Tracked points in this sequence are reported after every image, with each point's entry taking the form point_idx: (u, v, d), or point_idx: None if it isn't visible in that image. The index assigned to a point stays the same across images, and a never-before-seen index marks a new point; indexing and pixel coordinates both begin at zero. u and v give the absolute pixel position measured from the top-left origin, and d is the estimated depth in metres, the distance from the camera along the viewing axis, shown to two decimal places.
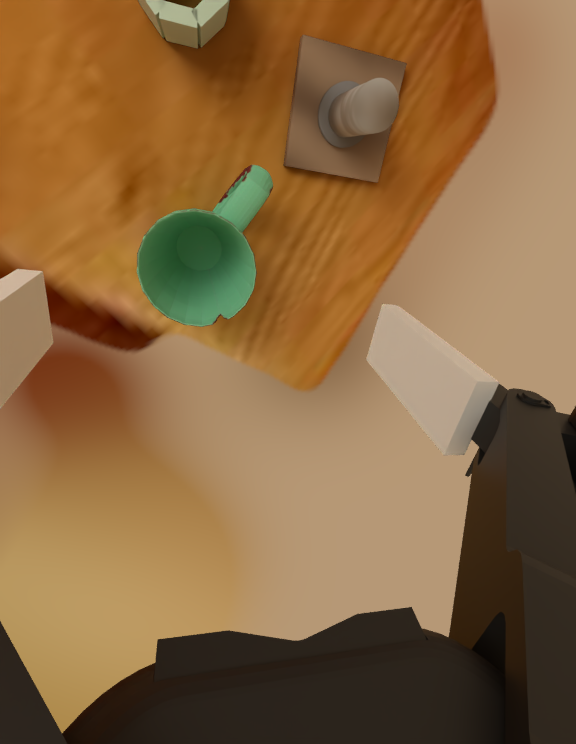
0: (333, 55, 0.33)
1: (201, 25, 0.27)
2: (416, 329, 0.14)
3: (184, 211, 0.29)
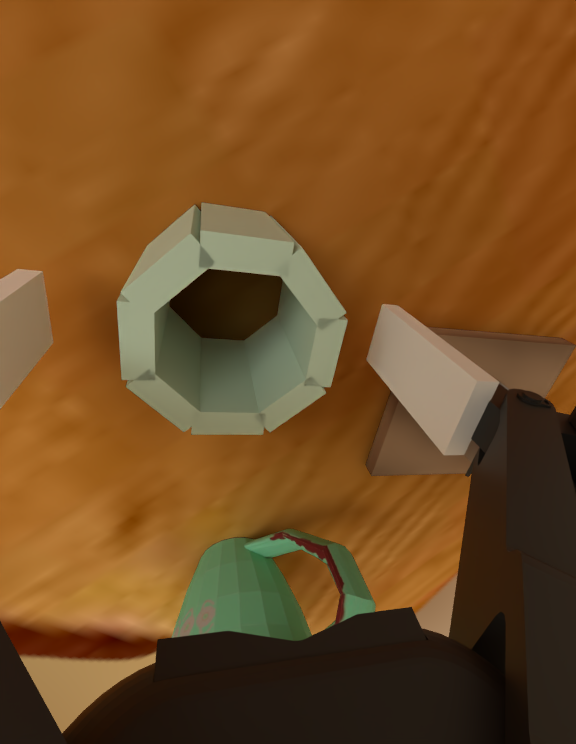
0: (466, 351, 0.20)
1: (271, 430, 0.14)
2: (416, 329, 0.14)
3: None
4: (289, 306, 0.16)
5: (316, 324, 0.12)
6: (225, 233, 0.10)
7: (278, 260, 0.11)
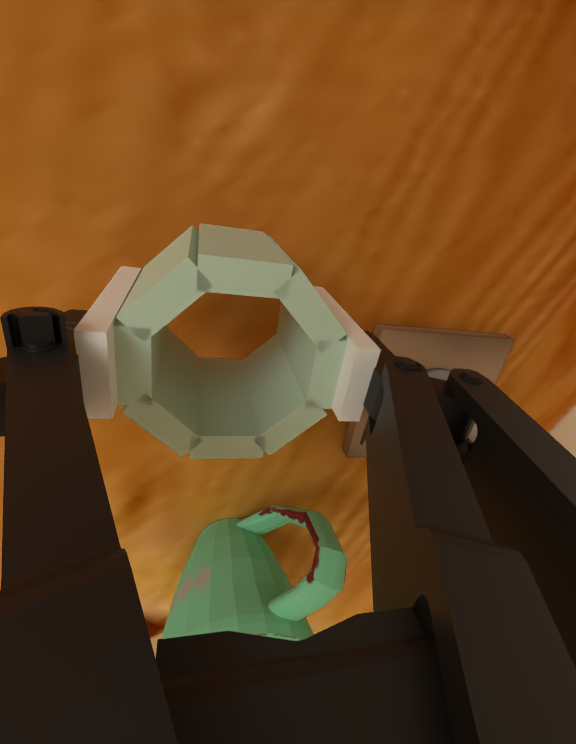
0: (420, 344, 0.24)
1: (271, 453, 0.14)
2: (327, 306, 0.14)
3: None
4: (288, 325, 0.16)
5: (316, 346, 0.12)
6: (223, 256, 0.10)
7: (277, 283, 0.11)
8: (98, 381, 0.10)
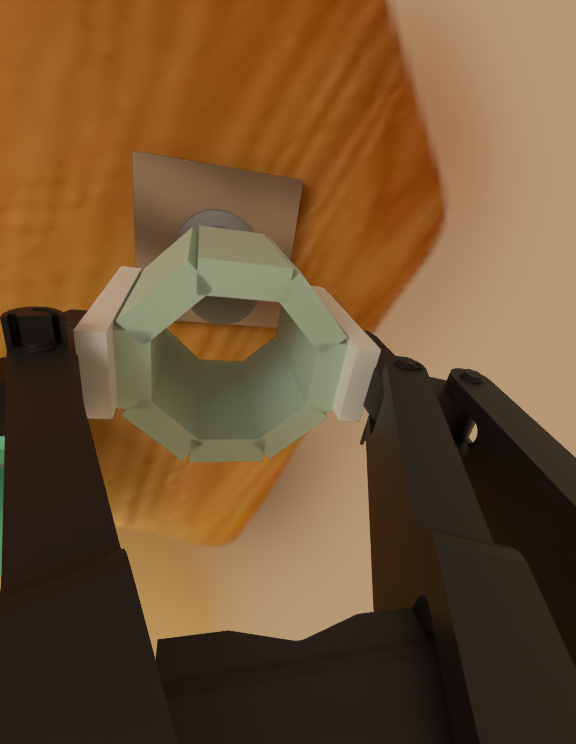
0: (186, 176, 0.22)
1: (271, 456, 0.14)
2: (327, 306, 0.14)
3: None
4: (288, 328, 0.16)
5: (316, 349, 0.12)
6: (223, 260, 0.10)
7: (277, 286, 0.11)
8: (98, 381, 0.10)
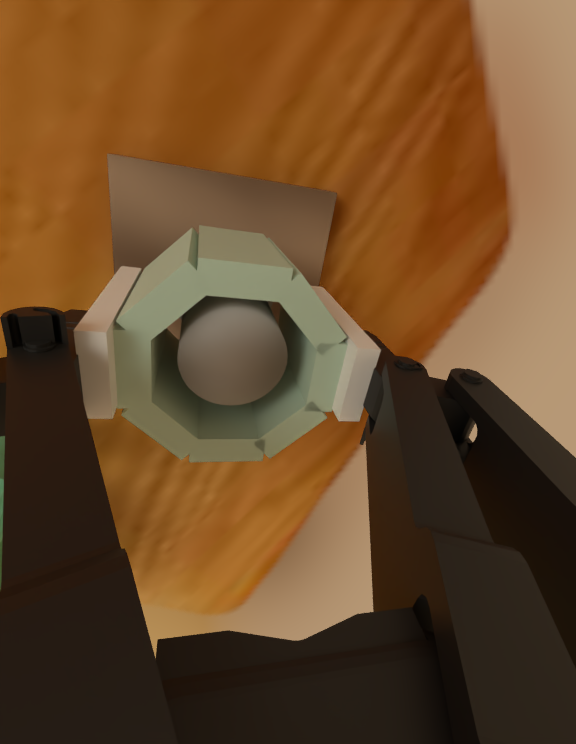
0: (182, 188, 0.16)
1: (271, 456, 0.14)
2: (327, 306, 0.14)
3: None
4: (288, 328, 0.16)
5: (316, 349, 0.12)
6: (223, 260, 0.10)
7: (277, 286, 0.11)
8: (98, 381, 0.10)
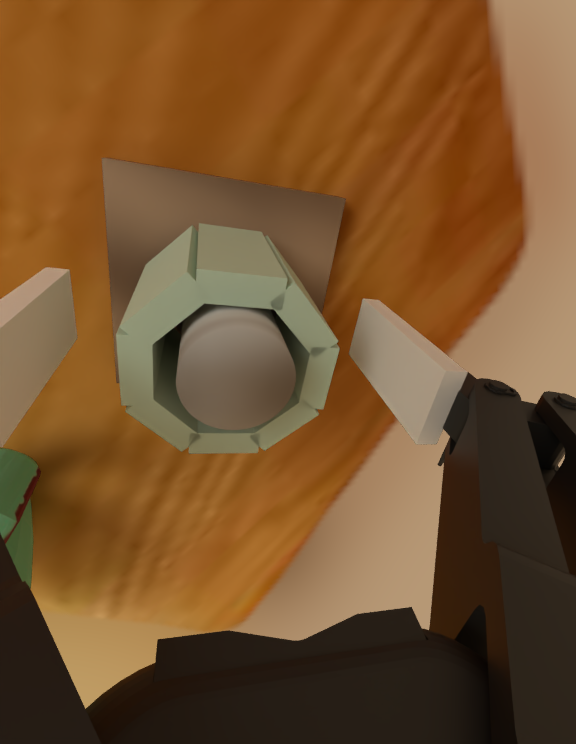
0: (182, 193, 0.15)
1: (265, 448, 0.15)
2: (393, 322, 0.14)
3: None
4: (284, 325, 0.16)
5: (309, 352, 0.13)
6: (220, 270, 0.11)
7: (272, 295, 0.11)
8: None
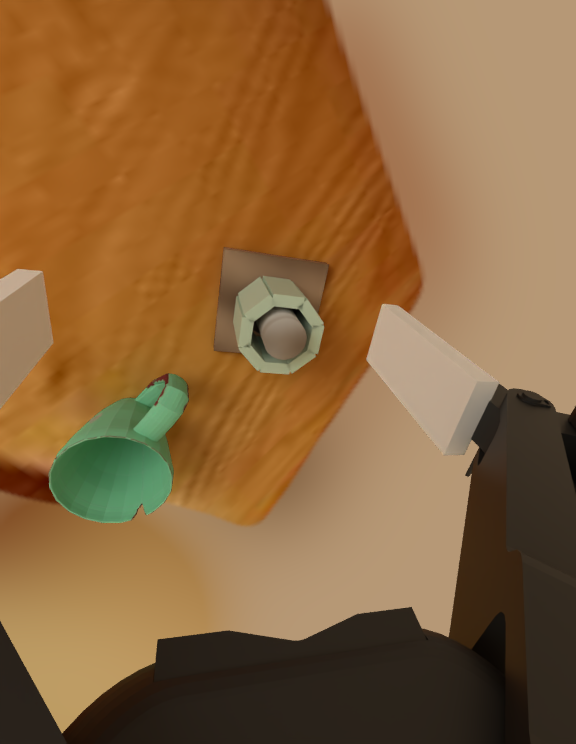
0: (255, 263, 0.35)
1: (292, 372, 0.33)
2: (416, 329, 0.14)
3: (94, 437, 0.30)
4: (300, 321, 0.35)
5: (312, 327, 0.32)
6: (281, 294, 0.30)
7: (299, 303, 0.30)
8: None
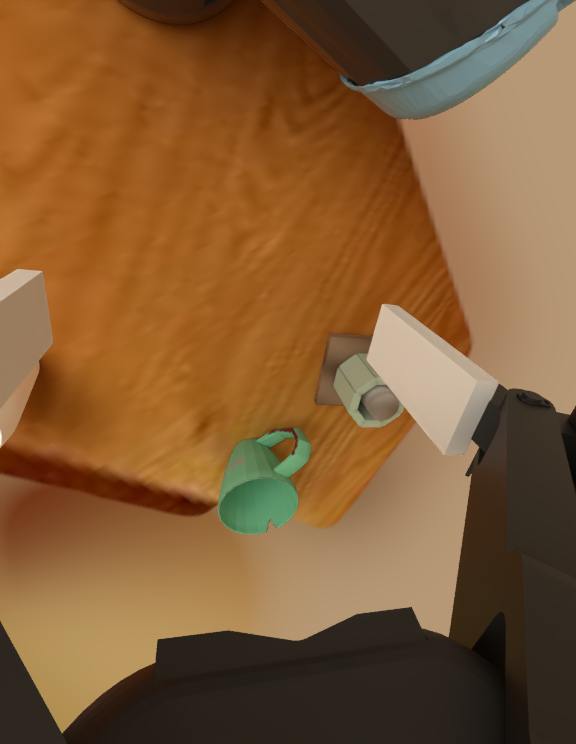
0: (352, 343, 0.47)
1: (383, 425, 0.46)
2: (416, 329, 0.14)
3: (253, 478, 0.43)
4: None
5: None
6: None
7: None
8: None
